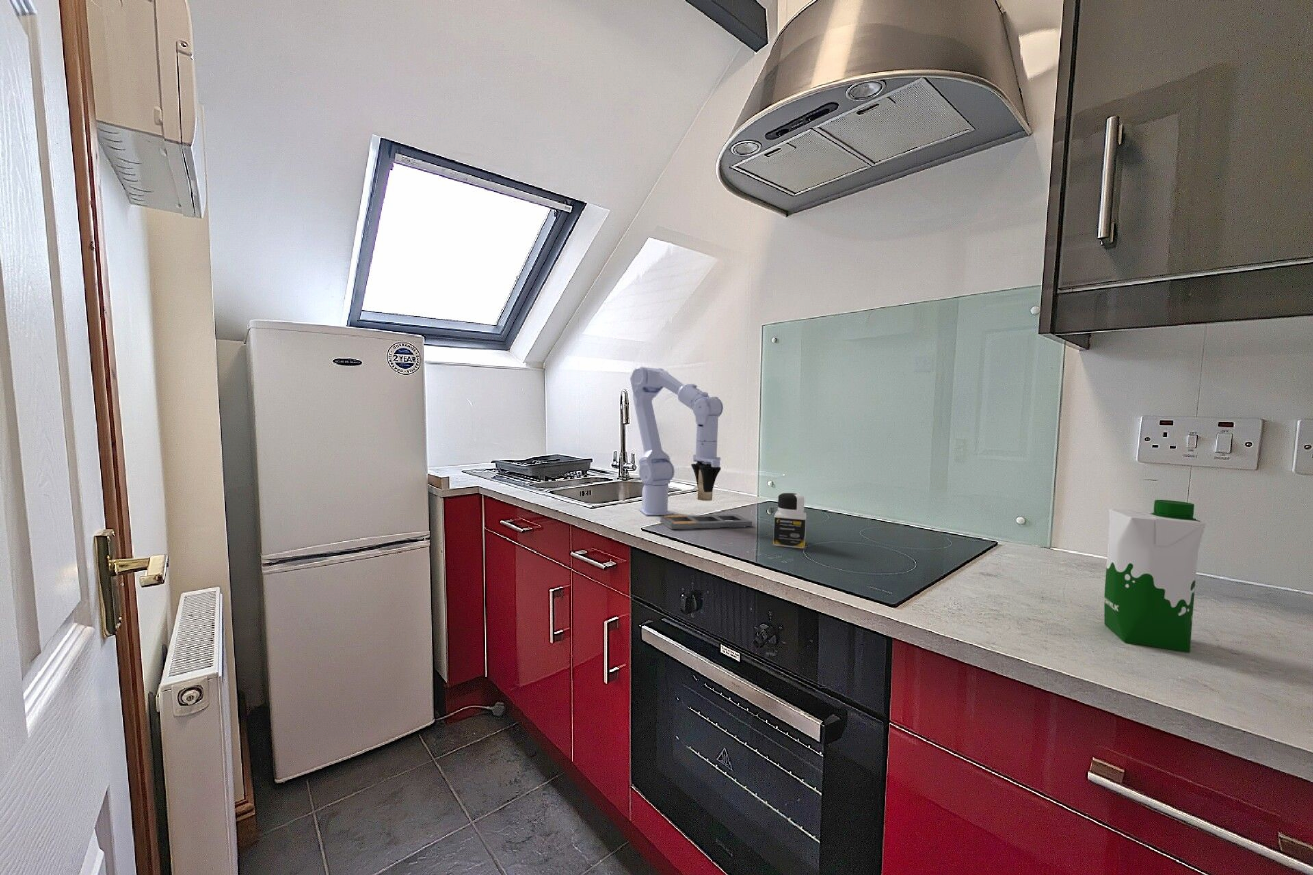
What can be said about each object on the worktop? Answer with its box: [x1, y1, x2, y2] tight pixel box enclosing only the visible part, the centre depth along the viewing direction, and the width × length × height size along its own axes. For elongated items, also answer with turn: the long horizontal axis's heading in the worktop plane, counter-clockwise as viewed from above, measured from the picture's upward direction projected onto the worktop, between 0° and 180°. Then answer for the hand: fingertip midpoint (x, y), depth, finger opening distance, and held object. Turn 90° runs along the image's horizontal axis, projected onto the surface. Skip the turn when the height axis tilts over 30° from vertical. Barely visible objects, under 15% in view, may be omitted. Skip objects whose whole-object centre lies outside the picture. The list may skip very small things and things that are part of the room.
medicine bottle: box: [772, 492, 807, 549], centre depth 125 cm, size 7×7×12 cm
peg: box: [697, 470, 714, 502], centre depth 143 cm, size 4×4×8 cm
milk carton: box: [1103, 499, 1206, 653], centre depth 75 cm, size 9×9×20 cm
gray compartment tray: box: [659, 513, 753, 530], centre depth 143 cm, size 10×23×2 cm, turn 106°
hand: (704, 490), depth 143 cm, fingers closed on peg, 4 cm apart
